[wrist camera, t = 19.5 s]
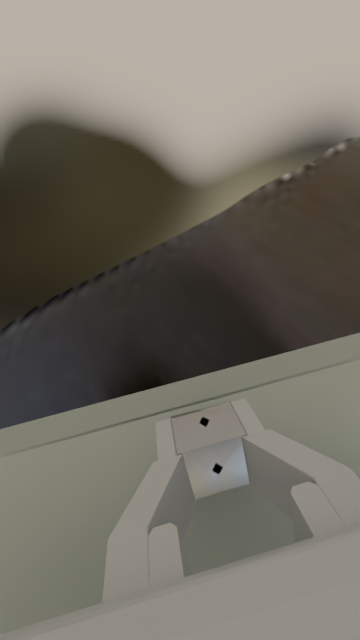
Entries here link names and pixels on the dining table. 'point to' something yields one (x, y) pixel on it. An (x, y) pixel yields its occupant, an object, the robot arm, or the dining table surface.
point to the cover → (134, 462)
